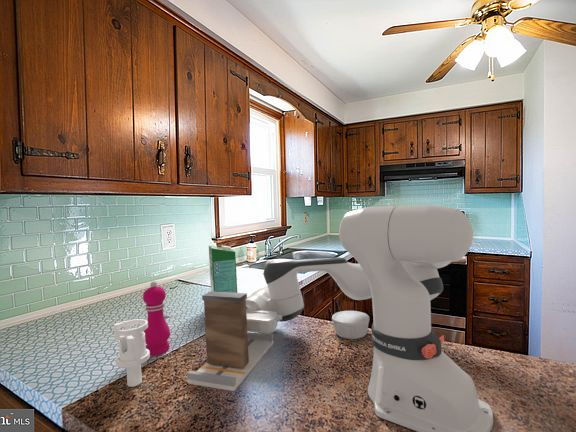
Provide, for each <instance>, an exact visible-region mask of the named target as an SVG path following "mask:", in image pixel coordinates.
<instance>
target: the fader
mask: <svg viewBox="0 0 576 432" xmlns="http://www.w3.org/2000/svg"><path fill="white" fill-rule="evenodd" d="M247 297H248V293H247V292H246V293H245V292H244V293H243V292H237V293H230V292H212V291H211V290H210V291H208V292H206V293H204V294H202V296H201V298H202V301H203V308H204V309H203V310H204V324H205V325H204V326H205V328H204V329H205V343H206V344H205V345H206V346H205V348H206V361H207V363H209V364H216V365H224V366H231V367H238V368H244V367H245V366H246V365H247V364H248V362H249V355H248V335H247V314H246V299H247Z"/></svg>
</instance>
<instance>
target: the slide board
mask: <svg viewBox="0 0 576 432" xmlns="http://www.w3.org/2000/svg"><path fill="white" fill-rule="evenodd" d="M247 335H248V355H249V362H248V364H247V365H246V366H245V367H244V368H238V367H231V366H224V365H216V364H209V363H207V362H205V363H204V364H203V365H201V366H200V368H198V369H196V371H195V370H189V371H187V372H186V376H187V384H189V385H195V386H200V387H206V388H207V387H208V388H212V389H213V388H214V389H219V390H224V391H231V392H235V391H236V390H237V388H238V387H239V386H240V385H241V383H242V382H244V380H245V379H246V378H247V376H248V375H249V374H250V373H251V371H252V370H253V369H254V368H255V367H256V365H257V364H258V363H259V362H260V360H261V359H262V358H263V356H264V355H265V354H266V353H267V352H268V350H269V349H270V348H271V347H272V346H273V345H274V334H272V333H269V334H267V333H256V332H247Z"/></svg>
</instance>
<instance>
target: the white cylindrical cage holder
mask: <svg viewBox="0 0 576 432" xmlns="http://www.w3.org/2000/svg"><path fill="white" fill-rule="evenodd" d="M147 320H148V319H142V318H137V319H135V318H134V319H130V320H122V321H120V322H115V323H114V324H113V334H114V335H113V336H114V341H115V342H116V341H117V342H118V355H117V356H116V357H115V366H116V367H118V368H122V369H123V368H124V369H125V368H126V380H127V381H126V385H127V386H128V387H129V388H131V387H132V388H134V387H136V386H137V387H138V386H139V385H141V384H142V382H143V376H142V365H143V364H144V363H145V362H147V361H148V360H149V359H150V357H151V355H150V351H149V350H148V349H146V345H147V344H146V343H145V333H144V330H146V329H147V328H148V321H147ZM136 325H140V326H139V327H132V328H131V326H136ZM121 328H124V329H121Z"/></svg>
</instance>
